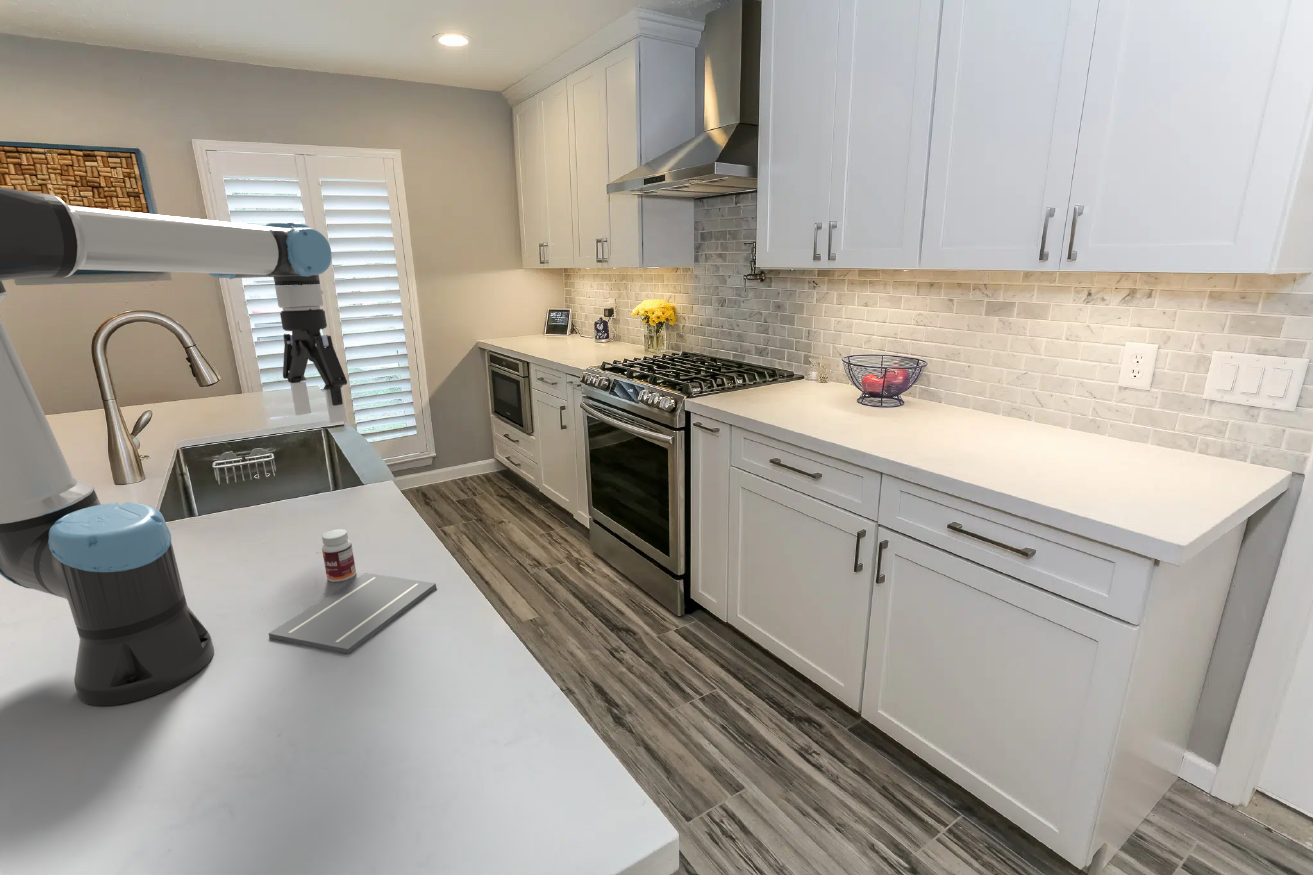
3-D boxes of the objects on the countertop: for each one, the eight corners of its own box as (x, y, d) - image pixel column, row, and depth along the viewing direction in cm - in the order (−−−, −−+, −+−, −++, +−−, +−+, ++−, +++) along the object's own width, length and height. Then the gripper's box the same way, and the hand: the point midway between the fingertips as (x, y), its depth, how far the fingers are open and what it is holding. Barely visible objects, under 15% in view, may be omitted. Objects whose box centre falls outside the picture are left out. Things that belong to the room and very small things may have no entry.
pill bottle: (321, 579, 114) (313, 536, 112) (345, 568, 118) (337, 526, 116) (339, 585, 112) (331, 541, 110) (362, 573, 116) (355, 530, 114)
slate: (348, 653, 92) (347, 648, 91) (269, 637, 96) (268, 633, 96) (436, 587, 110) (435, 583, 110) (366, 576, 115) (365, 572, 114)
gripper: (356, 308, 117) (372, 421, 122) (291, 306, 131) (308, 407, 137) (314, 311, 111) (333, 429, 116) (251, 309, 125) (271, 414, 131)
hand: (320, 417), depth 126 cm, fingers open, 13 cm apart
